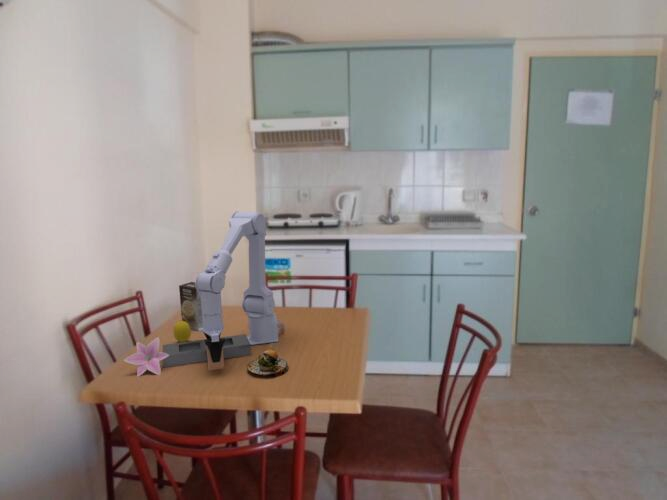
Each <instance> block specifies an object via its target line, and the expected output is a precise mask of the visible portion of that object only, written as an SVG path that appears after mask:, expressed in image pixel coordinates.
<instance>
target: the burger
mask: <svg viewBox="0 0 667 500" xmlns="http://www.w3.org/2000/svg"><path fill="white" fill-rule="evenodd" d="M274 346H275V345H273V346H272V349H267V350H264V351H263V353H262V354H263V357H262V356H261V355H260V354H259V355H258V357H257V359H254V360H252V361H250V362H249V363H248V364H247V365H246V369H247V370H248V371H249V372H250V373H252V374H256V375H259V376H270V375H272V376H273V375H274V377H275V378H276V377H280V376H282V372H284V373H287V372H288V369H289V366H288V362H287V360H285V359H283V358H280V357H279V355H278V353H277V351H275V350H273V349H274Z"/></svg>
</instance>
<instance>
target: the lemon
mask: <svg viewBox="0 0 667 500" xmlns="http://www.w3.org/2000/svg"><path fill="white" fill-rule="evenodd" d="M191 330H192V329H190V326H189V324H188V323H187V322H185V321H182V319H181V320H180V321H178V322H176V323H175V324H174V327H173V337H174V339H175V340H176V341H177V342H178V343H181V342H188V340H189V339H190V337H191V335H192V333H191V332H192V331H191Z"/></svg>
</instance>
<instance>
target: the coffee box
mask: <svg viewBox="0 0 667 500" xmlns="http://www.w3.org/2000/svg"><path fill="white" fill-rule="evenodd" d="M195 283H196V281H190V282H187V283H183V284H180V285H178V288H179V289H178V290H179V299H180V300H179V301H180V314H181V320H182V321H185V322H187V323H188V324H189V326H190V329H191V330H193V331H197V332H199V328H202V327H203V321H202V308H201V298H200V296H199V293H198V290H197V289H196V287H195Z"/></svg>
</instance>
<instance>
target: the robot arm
mask: <svg viewBox="0 0 667 500" xmlns="http://www.w3.org/2000/svg"><path fill="white" fill-rule="evenodd" d="M228 225H229V229H228V231H227V234H226V237H225V239H224V241H223V242H222V246H221V248H220V249H219V250H216V251H214V253H213V254H212V257H211V258H210V260H209V262H208V264H207V266H206V267H205V269H204V271H202V272H201V273H200V274H198V275H197V277H196V279H195V287H196V289H197V290H198V293H199V296H200V298H201V308H202V321H203V327H202V328H199V331H198V332H199V333H202V334H204V336H205V338H206V339H205V344H206V345H207V347H208V349H209V351H210V355H211V359H212V362H213V363H215V362H220V359H221V352H222V347H223V345H224V343H225V338H221V339H220V337H221V334H222V332H223V331H224V329H225V326H224V321H223V319H224V317H223V307H222V306H223V305H222V291H223V289H224V288H225V286H226V285H225V282H226V277H227V276H226V274H227V272H228V270H229V267H230V266H231V264H232V262H233V257H232V254H233V253H234V251H235V249H236V248H237V247H238V245H239V243H240V241H241V240H242V238H243V237H245V238H246V239H247V240H248V269H249V270H248V272H249V273H248V277H249V280H248V281H249V282H248V283H249V285H248V288H246V289H245V290H244V291H243V297H242V301H241V308H242V311H243V312H245V314H246V316H247V318H248V331H249V332H248V336H247V335H246V336H247V338H248V340H249V343H250V346H253V345H262V344H267V343H268V344H269V343H270V344H271V343H275V342H276V343H277V342H279V334H278V333H279V330H278V319H277V313H275V312H274V310H275V307H276V304H275V299H274V292H273V291H272V290H271V289H270V288H269V287H267V285H266V236H267V217H265V215H264V214H263V213H262V212H261V211H253V212H252V211H237V210H236V211H234V212H232V214H231V215H230V218H229V220H228Z"/></svg>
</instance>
